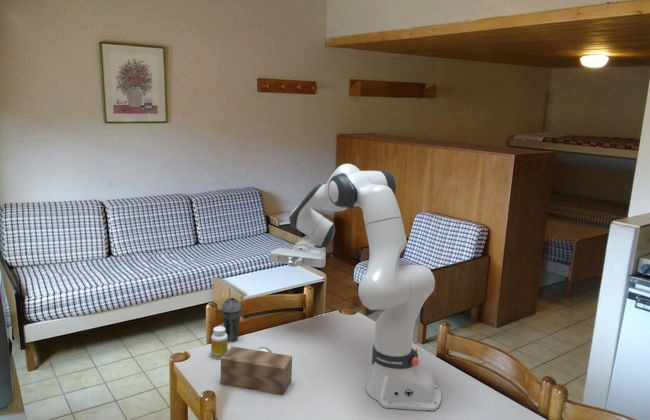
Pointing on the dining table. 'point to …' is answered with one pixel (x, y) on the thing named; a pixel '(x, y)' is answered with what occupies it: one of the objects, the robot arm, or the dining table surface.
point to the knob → (265, 349)
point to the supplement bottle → (219, 342)
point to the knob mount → (256, 370)
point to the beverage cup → (231, 317)
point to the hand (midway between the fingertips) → (291, 264)
